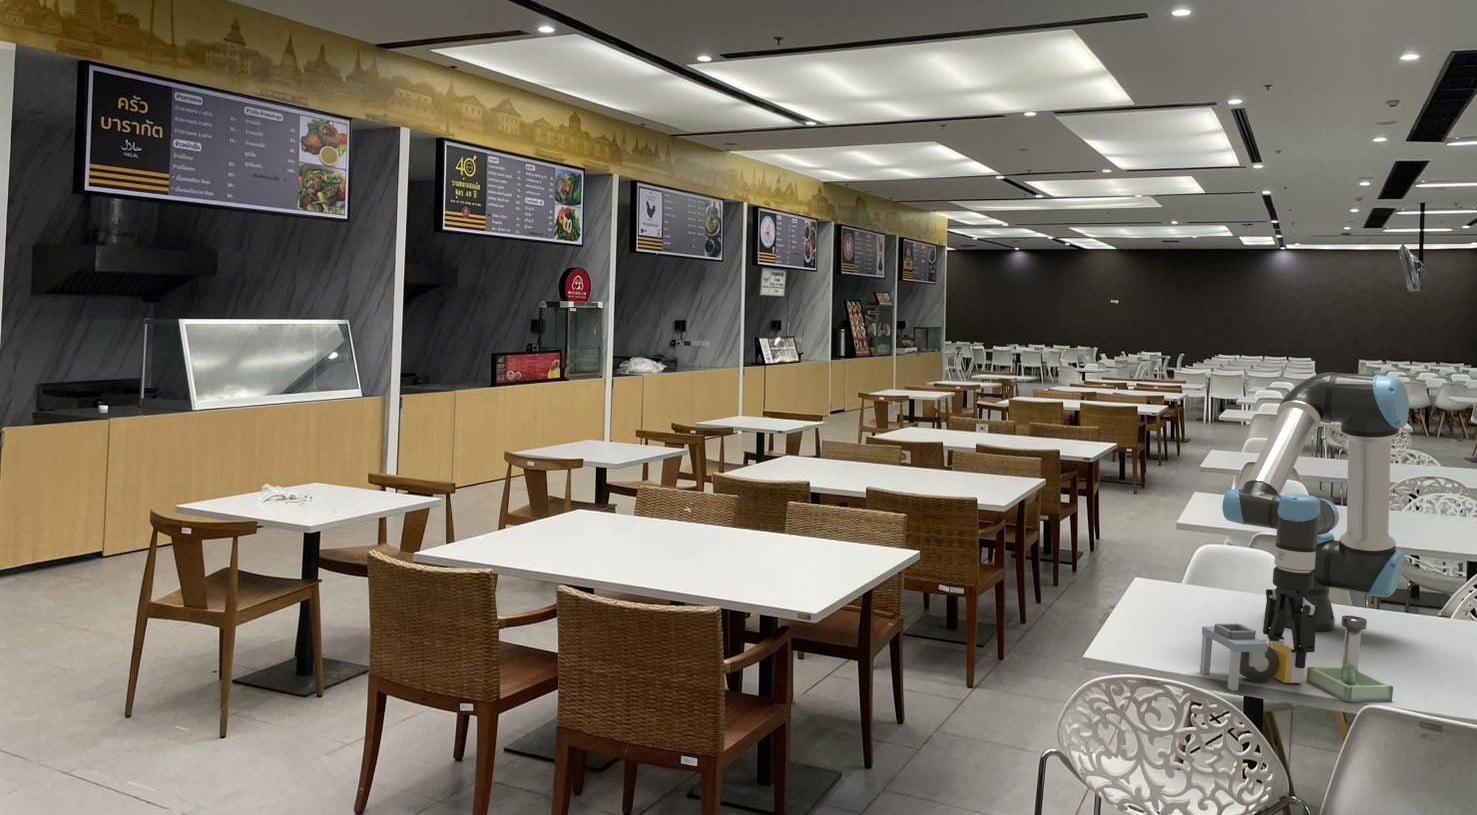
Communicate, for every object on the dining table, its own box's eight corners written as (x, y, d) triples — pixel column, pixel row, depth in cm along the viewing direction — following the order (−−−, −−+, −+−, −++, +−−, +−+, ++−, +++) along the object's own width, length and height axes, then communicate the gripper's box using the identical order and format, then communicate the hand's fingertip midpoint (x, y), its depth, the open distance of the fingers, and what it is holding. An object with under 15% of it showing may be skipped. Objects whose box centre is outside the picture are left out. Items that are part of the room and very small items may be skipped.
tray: (1349, 680, 223) (1350, 666, 222) (1392, 701, 211) (1393, 686, 211) (1306, 680, 221) (1307, 667, 221) (1346, 702, 209) (1347, 687, 209)
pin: (1350, 684, 218) (1356, 615, 217) (1365, 691, 214) (1372, 621, 213) (1331, 684, 218) (1337, 615, 216) (1345, 692, 213) (1352, 621, 212)
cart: (1199, 671, 225) (1202, 619, 224) (1255, 670, 227) (1259, 619, 226) (1232, 691, 214) (1236, 637, 213) (1291, 690, 215) (1295, 636, 214)
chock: (1283, 673, 225) (1285, 645, 224) (1302, 682, 219) (1304, 654, 218) (1266, 673, 224) (1268, 645, 224) (1284, 682, 218) (1286, 654, 218)
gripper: (1249, 557, 228) (1241, 661, 230) (1307, 580, 210) (1298, 692, 212) (1281, 558, 229) (1272, 661, 231) (1342, 580, 211) (1332, 692, 213)
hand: (1285, 676), depth 222 cm, fingers closed on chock, 6 cm apart
